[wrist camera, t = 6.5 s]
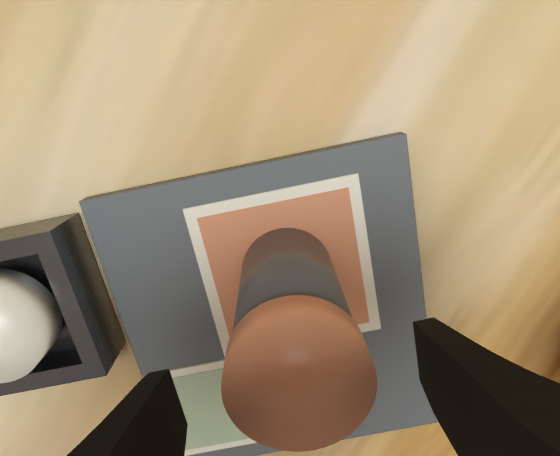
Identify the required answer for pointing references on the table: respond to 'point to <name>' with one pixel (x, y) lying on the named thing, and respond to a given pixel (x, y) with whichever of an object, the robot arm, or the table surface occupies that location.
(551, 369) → the table surface
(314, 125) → the table surface
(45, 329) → the button
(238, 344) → the grey canister
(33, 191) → the table surface
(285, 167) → the picture board
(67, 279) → the button housing
